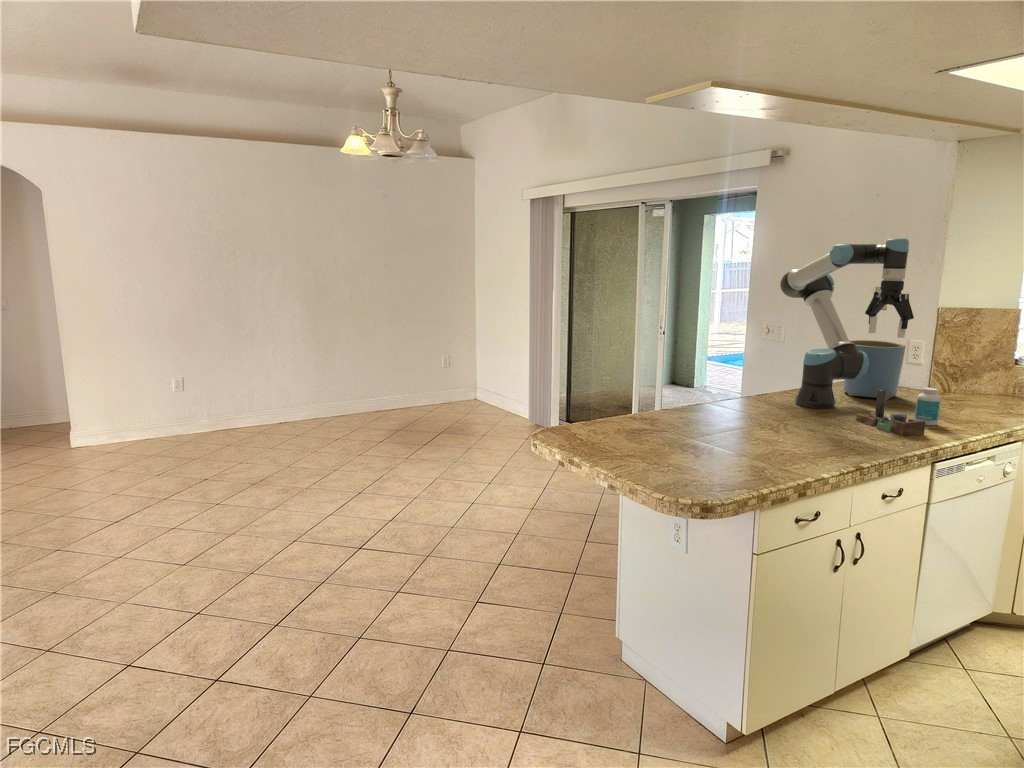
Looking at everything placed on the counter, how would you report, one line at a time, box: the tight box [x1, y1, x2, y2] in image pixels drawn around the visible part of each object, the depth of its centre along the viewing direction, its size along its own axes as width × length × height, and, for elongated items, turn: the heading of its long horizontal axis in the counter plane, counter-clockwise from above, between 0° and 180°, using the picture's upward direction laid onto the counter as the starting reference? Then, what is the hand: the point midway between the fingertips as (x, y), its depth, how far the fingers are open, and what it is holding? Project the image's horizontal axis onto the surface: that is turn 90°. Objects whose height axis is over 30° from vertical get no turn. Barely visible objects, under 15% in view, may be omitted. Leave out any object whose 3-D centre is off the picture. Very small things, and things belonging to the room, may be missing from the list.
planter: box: [843, 339, 906, 401], centre depth 280 cm, size 23×23×24 cm
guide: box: [855, 412, 876, 426], centre depth 237 cm, size 8×7×2 cm
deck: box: [876, 422, 892, 433], centre depth 228 cm, size 6×10×2 cm, turn 105°
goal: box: [890, 418, 926, 437], centre depth 222 cm, size 6×8×5 cm
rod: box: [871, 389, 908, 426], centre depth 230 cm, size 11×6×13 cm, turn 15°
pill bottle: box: [914, 387, 942, 426], centre depth 234 cm, size 8×7×14 cm
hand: (885, 335), depth 242 cm, fingers open, 13 cm apart
